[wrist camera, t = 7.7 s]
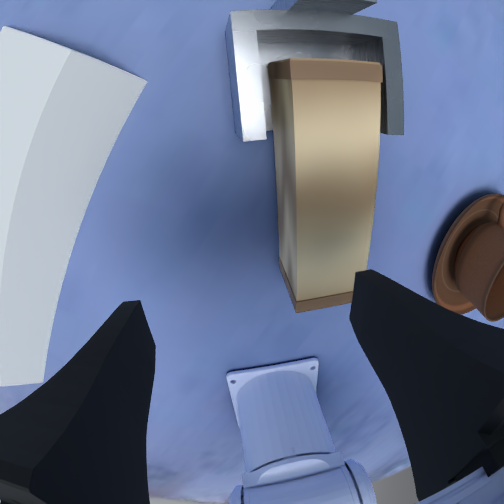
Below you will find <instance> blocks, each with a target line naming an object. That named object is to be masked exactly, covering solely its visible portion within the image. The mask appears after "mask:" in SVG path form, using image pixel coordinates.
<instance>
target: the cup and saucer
mask: <svg viewBox="0 0 504 504" xmlns="http://www.w3.org/2000/svg"><path fill="white" fill-rule="evenodd" d="M432 291H433V296H434V299H435V301H436V303H437V304H438V305H440V306H442V307H444V308H446V309H448V310H451V311H453V312H455V313H458V314H460V315H461V314H465V313H467V312H470V311H472V310H474V309H475V308H477V309H478V310H479V311H480V313H481V314H482V315H483V316H484V317H485V318H486V319H487V320H488V321H498V320H500V319H502V318H504V195H501V194H488V195H485V196H482V197H480V198H478V199H477V200H475V201H474V202H473V203H471V204H470V205H469V206H468V207H467V208H466V209H464V210H463V211H462V213H461V214H460V215H459V216H458V217H457V218H456V220H455V221H454V222H453V224H452V225H451V227H450V228H449V230H448V232H447V233H446V235H445V237H444V239H443V241H442V243H441V246H440V248H439V251H438V254H437V257H436V260H435V264H434V269H433V275H432Z"/></svg>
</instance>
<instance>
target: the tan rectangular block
mask: <svg viewBox="0 0 504 504" xmlns="http://www.w3.org/2000/svg"><path fill="white" fill-rule="evenodd" d="M268 75H269V78H270V90H271V104H272V119H273V134H274V151H275V169H276V188H277V208H278V231H279V268H280V270H281V273H282V276H283V279H284V281H285V284H286V287H287V290H288V292H289V295H290V298H291V301H292V304H293V306H294V309H295V312H296V313H300V312H305V311H311V310H316V309H321V308H327V307H332V306H337V305H342V304H347V303H352V297H353V289H354V280H355V272H358V271H365V270H366V269H367V262H368V256H369V249H370V242H371V234H372V226H373V218H374V208H375V199H376V188H377V176H378V161H379V143H380V112H381V82H383V73H382V65H380V63H378V62H368V61H357V60H343V59H321V58H289V59H283V60H278V61H273V62H269V64H268Z"/></svg>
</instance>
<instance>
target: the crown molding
mask: <svg viewBox="0 0 504 504" xmlns="http://www.w3.org/2000/svg"><path fill="white" fill-rule="evenodd" d="M147 82H148V81H146V80H144V79H142V78H140V77H138V76H135V75H133V74H131V73H129V72H127V71H125V70H122V69H120V68H118V67H115V66H113V65H111V64H108V63H106V62H104V61H101V60H99V59H97V58H94V57H91V56H89V55H86V54H84V53H81V52H78V51H76V50H73V49H71V48H68V47H65V46H63V45H60V44H57V43H54V42H52V41H49V40H46V39H43V38H40V37H38V36H35V35H32V34H30V33H27V32H24V31H20V30H17V29H14V28H10V27H7V26H3V28H2V30H1V32H0V386H13V385H23V384H33V383H42V382H43V378H44V371H45V364H46V358H47V352H48V346H49V340H50V335H51V330H52V325H53V321H54V316H55V312H56V307H57V303H58V299H59V295H60V291H61V287H62V283H63V280H64V276H65V272H66V269H67V266H68V262H69V259H70V256H71V252H72V249H73V246H74V243H75V240H76V237H77V234H78V231H79V228H80V225H81V222H82V220H83V217H84V214H85V211H86V209H87V206H88V203H89V201H90V198H91V196H92V193H93V191H94V188H95V186H96V183H97V181H98V179H99V176H100V174H101V172H102V169H103V167H104V165H105V163H106V160H107V158H108V156H109V154H110V152H111V150H112V147H113V145H114V143H115V141H116V139H117V137H118V135H119V133H120V131H121V129H122V127H123V125H124V123H125V121H126V119H127V117H128V115H129V114H130V112H131V110H132V108H133V106H134V104H135V103H136V101H137V99H138V97H139V95H140V94H141V92H142V90H143V88H144V87H145V85H146V83H147Z"/></svg>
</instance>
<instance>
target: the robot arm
mask: <svg viewBox="0 0 504 504" xmlns="http://www.w3.org/2000/svg"><path fill="white" fill-rule="evenodd" d="M349 319H350V321H351V324H352V327H353V329H354V332H355V334H356V337H357V339H358V342H359V344H360V345H361V347H362V349H363V351H364V353H365V354H366V356H367V358H368V360H369V362H370V363H371V365H372V367H373V369H374V370H375V372H376V374H377V376H378V377H379V379H380V381H381V383H382V385H383V387H384V388H385V390H386V392H387V394H388V397H389V399H390V401H391V404H392V406H393V409H394V411H395V414H396V417H397V419H398V422H399V425H400V428H401V431H402V434H403V437H404V440H405V444H406V447H407V451H408V455H409V459H410V462H411V467H412V471H413V476H414V481H415V486H416V494H417V498H418V500H419V502H417V503H415V504H504V329H502V328H498V327H494V326H491V325H488V324H485V323H481V322H478V321H476V320H473V319H470V318H468V317H465V316H463V315H460V314H458V313H455V312H453V311H451V310H448V309H446V308H444V307H442V306H440V305H438V304H436V303H434V302H432V301H430V300H428V299H426V298H424V297H422V296H420V295H419V294H417V293H415V292H413V291H411V290H409V289H408V288H406V287H404V286H402V285H400V284H399V283H397V282H395V281H393V280H391V279H390V278H388V277H386V276H384V275H382V274H380V273H378V272H376V271H374V270H365V271H358V272H355V280H354V289H353V297H352V304H351V311H350V318H349ZM155 350H156V345H155V343H154V340H153V337H152V334H151V332H150V329H149V326H148V323H147V320H146V317H145V314H144V311H143V308H142V305H141V302H140V300H137V301H127V302H123V303H122V304H121V305H120V306H119V307H118V308H117V309H116V310H115V311H114V312H113V313H112V314H111V316H110V317H109V318H108V319H107V320H106V321H105V322H104V324H103V325H102V326H101V327H100V328H99V329H98V330H97V332H96V333H95V334H94V335H93V336H92V337H91V338H90V340H89V341H88V342H87V343H86V344H85V345H84V346H83V347H82V348H81V349H80V350H79V351H78V352H77V353H76V354H75V356H74V357H73V358H72V359H71V360H70V361H69V362H68V363H67V364H66V365H65V366H64V367H63V368H62V369H61V370H59V371H58V372H57V373H56V374H55V375H54V376H53V377H52V378H51V379H49V380H48V381H47V382H46V383H45V384H43V385H42V386H41V387H39V388H38V389H37V390H36V391H34V392H33V393H32V394H30V395H29V396H28V397H27V398H25V399H24V400H22V401H21V402H19V403H18V404H16V405H15V406H13V407H12V408H10V409H9V410H7V411H5V412H4V413H2V414H1V415H0V500H1V503H0V504H150V501H149V492H148V481H147V463H146V433H147V423H148V415H149V408H150V401H151V394H152V388H153V381H154V374H155ZM318 366H319V362H318V359H317V358H309V359H304V360H299V361H294V362H289V363H283V364H278V365H272V366H266V367H260V368H254V369H247V370H240V371H233V372H229V373H227V375H226V377H227V382H228V386H229V390H230V394H231V398H232V402H233V406H234V410H235V414H236V418H237V422H238V426H239V428H240V431H241V439H242V446H243V453H244V460H245V467H246V473H245V474H242V480H243V485H238V486H236V487H235V488H234V490H233V492H232V493H231V494H230V496H229V504H377V502H376V497H375V493H374V490H373V487H372V484H371V481H370V479H369V477H368V474H367V472H366V471H365V469H364V467H363V466H362V465H361V464H359V463H357V462H355V461H354V460H352V459H350V460H347V461H344V459H343V457H342V454H341V452H336V450H335V448H334V445H333V442H332V439H331V436H330V433H329V430H328V427H327V424H326V421H325V418H324V416H323V413H322V410H321V407H320V404H319V401H318V398H317V395H316V388H317V377H318Z"/></svg>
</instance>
